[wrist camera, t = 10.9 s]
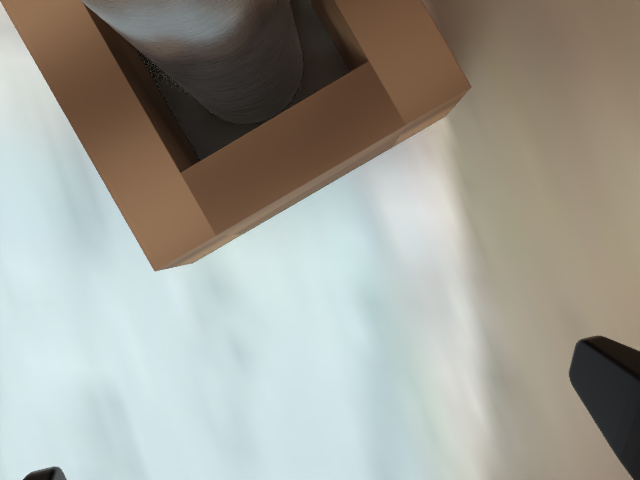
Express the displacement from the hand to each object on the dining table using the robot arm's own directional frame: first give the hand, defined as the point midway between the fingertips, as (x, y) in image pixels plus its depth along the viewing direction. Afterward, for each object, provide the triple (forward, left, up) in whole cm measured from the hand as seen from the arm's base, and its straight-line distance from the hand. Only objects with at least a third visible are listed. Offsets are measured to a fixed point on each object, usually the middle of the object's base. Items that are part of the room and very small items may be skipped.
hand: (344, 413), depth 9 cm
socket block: (+8, -4, -9) cm, 13 cm away
